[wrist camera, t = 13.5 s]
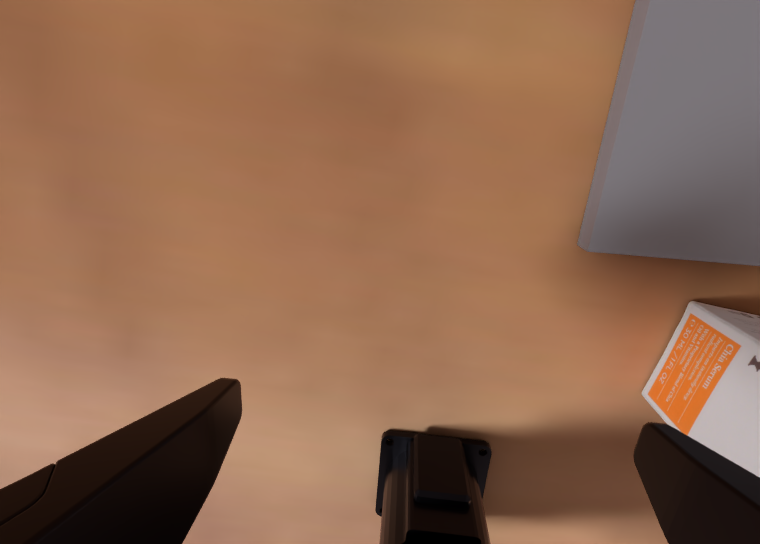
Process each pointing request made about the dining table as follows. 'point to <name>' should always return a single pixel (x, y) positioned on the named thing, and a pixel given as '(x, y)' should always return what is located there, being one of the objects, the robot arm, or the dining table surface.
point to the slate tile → (682, 137)
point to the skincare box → (712, 382)
